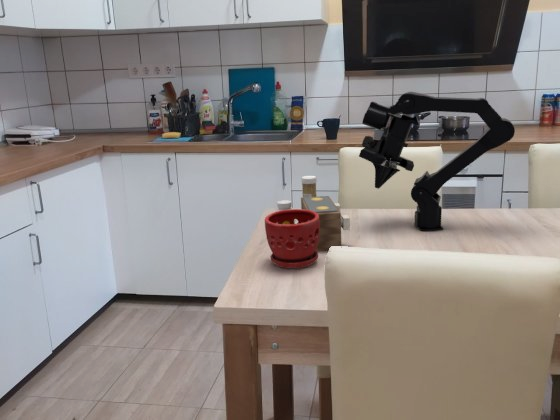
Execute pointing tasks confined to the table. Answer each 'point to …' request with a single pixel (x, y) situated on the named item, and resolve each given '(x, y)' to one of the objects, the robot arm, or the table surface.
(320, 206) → the card
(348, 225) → the button
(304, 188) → the sprinkles bottle
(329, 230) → the button box
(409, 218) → the table surface
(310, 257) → the plant pot
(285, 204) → the supplement bottle
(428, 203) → the robot arm
